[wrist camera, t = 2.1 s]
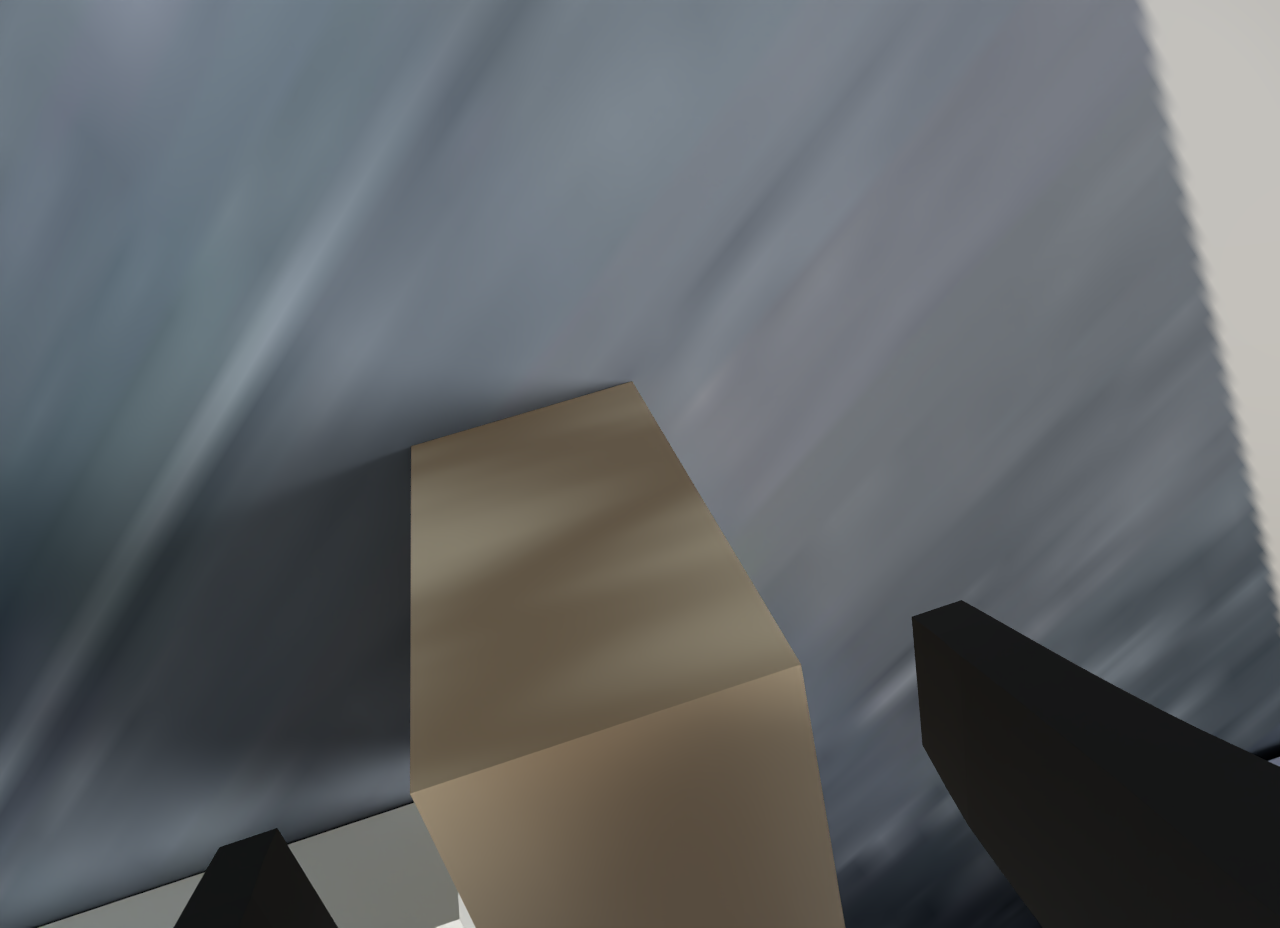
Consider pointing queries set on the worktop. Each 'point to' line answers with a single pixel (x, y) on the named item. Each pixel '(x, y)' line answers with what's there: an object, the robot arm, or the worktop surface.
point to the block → (603, 688)
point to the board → (333, 881)
